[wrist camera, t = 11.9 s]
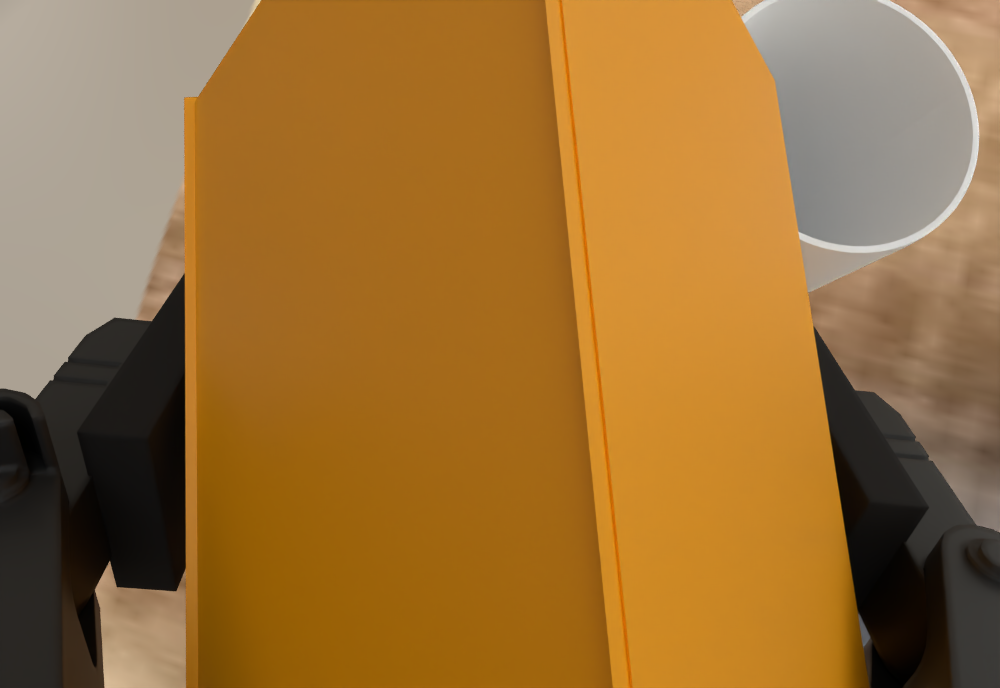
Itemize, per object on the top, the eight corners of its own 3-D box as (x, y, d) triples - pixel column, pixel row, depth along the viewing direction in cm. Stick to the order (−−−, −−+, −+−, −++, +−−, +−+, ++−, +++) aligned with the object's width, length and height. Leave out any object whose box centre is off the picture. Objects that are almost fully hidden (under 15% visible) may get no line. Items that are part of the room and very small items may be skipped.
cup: (564, 207, 37) (668, 11, 21) (716, 172, 38) (923, -39, 22) (610, 367, 36) (758, 285, 20) (767, 326, 37) (1022, 218, 21)
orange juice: (362, 618, 22) (-494, 1769, 2) (349, 327, 24) (-230, -445, 4) (623, 595, 22) (1720, 1393, 3) (594, 311, 24) (1171, -450, 4)
